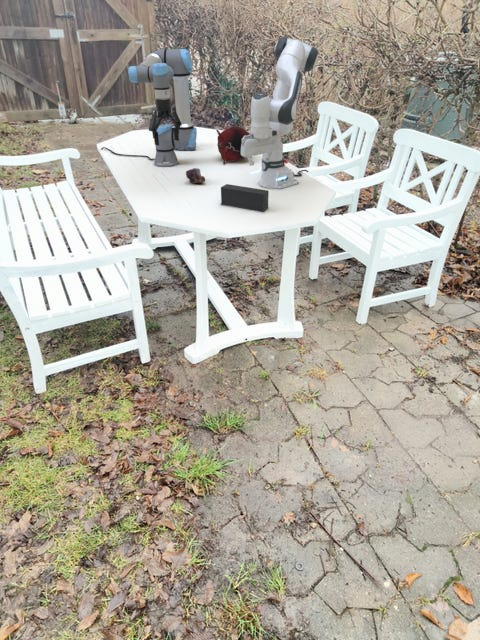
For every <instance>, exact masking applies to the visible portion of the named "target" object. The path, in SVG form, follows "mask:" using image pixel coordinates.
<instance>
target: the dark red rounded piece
mask: <svg viewBox="0 0 480 640" xmlns="http://www.w3.org/2000/svg"><path fill="white" fill-rule="evenodd" d="M216 133H217V135H218V136H217V150H218V153H219V154H220V157H221V159H222V160H223V162H222V163H223V165H225V163H226V162H227V161H228V162H238V161H242V160H244V159H245V158H246V157H243V156H242V155H241V144H242V138H243V137H244V136H245V135H250V132H249V131H248V130H246V129H245V128H244V127H241V126H231V127H228V128H226V129H225V130H223V131H221V132H220V130H218V129H216Z"/></svg>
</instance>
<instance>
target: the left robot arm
mask: <svg viewBox="0 0 480 640" xmlns="http://www.w3.org/2000/svg"><path fill="white" fill-rule="evenodd" d="M127 72H128V74H127V75H128V79H129V81H130V82H131V83H132V84H138V83H139V84H144V83H145V84H146V83H147V84H150V83H151V84H153V88H154V98H155V107H156V110H151V118H150V122H149V127H148V131H149V132H151V133H152V139H153V140H154V145H155V155H154V158H151V157H149V156H148V155H143V154H142V155H139V154H123V153H118V152H115V151H113V150H111V149H110V148H108V147H106V146H103V147H101V149H100V150H103V149H105V150H107V151H109V152H111V153H112V154H114V155H117V156H122V157H138V158H139V157H141V158H148V160H150V161H154V165H155V166H157V167H163V168H164V167H165V168H167V167H168V168H169V167H174V166H177V165H178V164H179V159H178V157H177V153H176V151H175V149H174V147H187V148H188V147H194V146H195V143H196V144H197V136H198V135H197V134H198V129H197V128H196V127H195V125H194V123H193V122H192V117H191V104H190V103H191V101H190V90H189V89H190V87H189V78H190V77H191V73H192V72H193V60H192V55H191V53H190V51H189V49H187V48H162V49H158V50H154V51H153V52H151V53H149V54H148V55H146V58H145V60H143V61H142V62H141V63H140V64H138V65H131V66H129V67H128V71H127ZM172 80H173V89H174V90H173V91H174V98H175V99H174V101H175V103H174V104H175V107H174V106H172V102H171V90H170V82H171V81H172ZM165 119H168V120H169V121H170V122H171V124H162V125H161V123H162V121H163V120H165ZM173 126H174V127H173Z"/></svg>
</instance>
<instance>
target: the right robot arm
mask: <svg viewBox="0 0 480 640" xmlns="http://www.w3.org/2000/svg"><path fill="white" fill-rule="evenodd" d="M319 53H320V52H319V50H318V49H317V48H316V47H315V46H311V45H310V44H308V43H306V42H304V41H301V40H299V39H295V38H294V39H293V38H289V37H288V36H281V37H279V38H278V40H277V41H276V43H275V45H274V53H273V54H274V55H273V56H274V57H275V59H276V60H277V62H276V64H275V74H276V76H277V80H276V83H275V86H274V89H273V92H272V98H271V97H270V94H269V93H267V92H263V91H261V92H257V93H254V94H253V95H252V97H251V101H250V121H251V122H250V132H249V134H250V135H245V136H244V137H243V138H242V144H241V155H242V156H243V157H245V158H247V160H248V162H249V163H248V165H249V166H251V167H253V166H254V165H255V161H253V157H254V156H259V155H262V158H261V169H258V170H255V171H252V172H250V175H252V174H256V173H259V172H261V175H260V178H259V179H260V180H259V183H258V184H259V186H261V187H263V188H268V189H279V190H281V189H284V188H288V187H291V186H294V185H298V183H299V182H298V180H297V179H296V178H295V177H302V176H303V173H302V172H306V173H309V170H308V169H301V170H299V171H297V174H295V172H294V171H293V170H292V169H291V168H289V167H288V166H287V165H286V164H288V163H289V160H288V159H286V158H285V159H284V158H283V153H284V151H283V150H284V144H283V141H282V140H281V137H280V136H286V135H288V134H290V133H291V132H292V130H293V126H294V121H295V120H296V117H297V111H298V105H299V101H300V100H299V99H300V95H301V90H302V85H303V74H304V75H305V74H306V73H308V72H311V71H312V70H314V68H315V67H316V66H317V64H318V61H319Z"/></svg>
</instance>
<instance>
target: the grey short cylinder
mask: <svg viewBox="0 0 480 640" xmlns="http://www.w3.org/2000/svg"><path fill="white" fill-rule="evenodd" d="M196 149H197V142H196V143H195V146H194V147H188V148H187V147H174V150H177V151H195V150H196Z"/></svg>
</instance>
